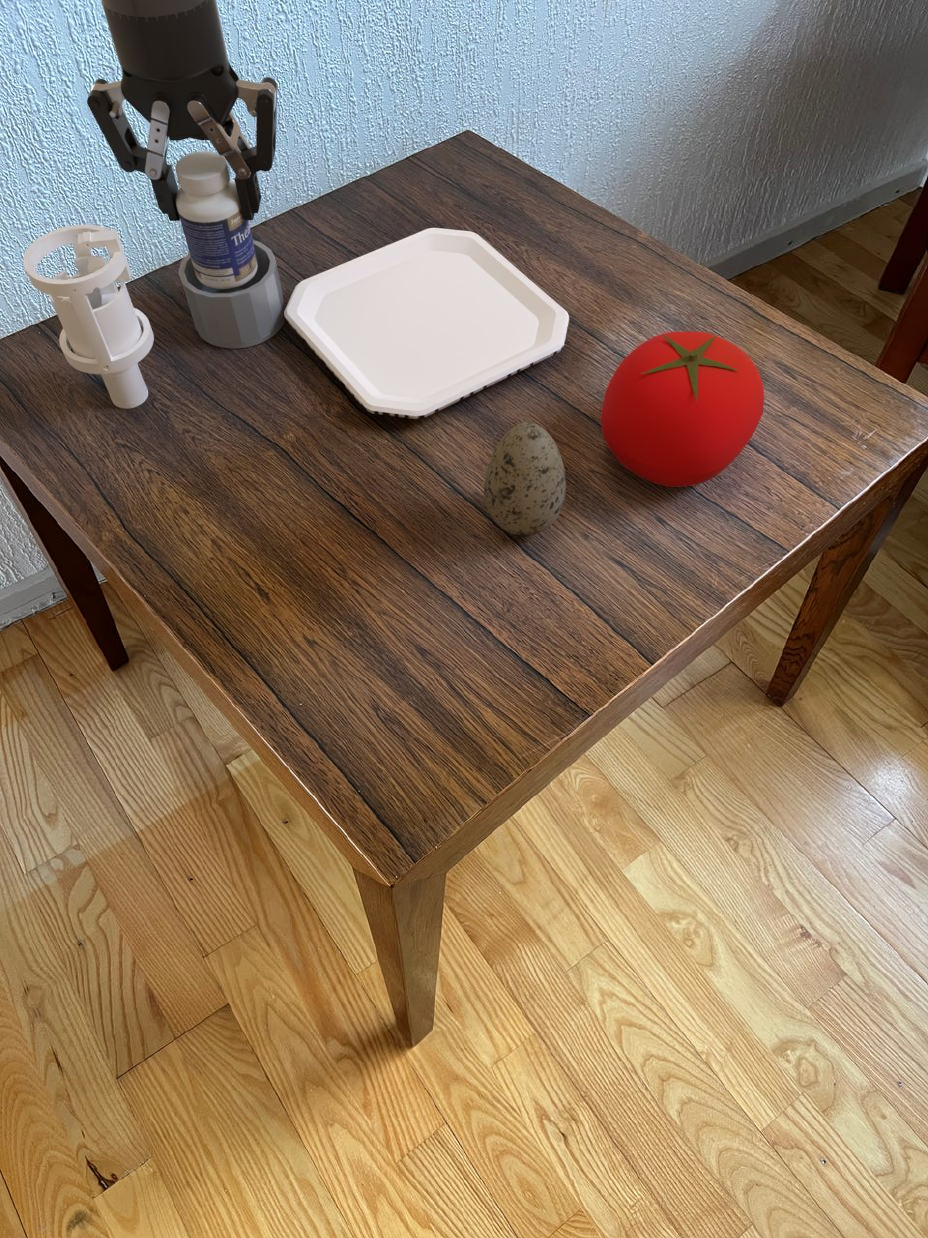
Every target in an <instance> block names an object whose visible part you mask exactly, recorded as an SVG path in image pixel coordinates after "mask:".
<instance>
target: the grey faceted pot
mask: <svg viewBox="0 0 928 1238" xmlns="http://www.w3.org/2000/svg"><path fill="white" fill-rule="evenodd" d="M253 244H254V249H255V254H256V260H257V266H258V267H257V272H256V274H255V275H254V277H253V278H252V279H251V280H249V281H248V282H247V283H245V284H243V285H241V286H239V287H235V288H230V289H216V288H212V287H208V286H206V285H204V284H203V283H201V282H200V281H199V279H198V278H197V276H196V273H195V270H194V267H193V264H192V260H191V256H190V253H189V252H188V253H187V254H186V255H185V256H184V257H183V258H182V259H181V261H180V264H179V267H178V268H179V269H178V276H179V281H180V284H181V287H182V290H183V293H184V296H185V300H186V304H187V307H188V310H189V313H190V316H191V321H192V323H193V326H194V329H195V331H196V333H197V335H198V336H199V337H200V338H201V339H202V340H203V341H205V342H206V343H208V344H209V345H211V346H214V347H218V348H222V349H234V350H236V349H245V348H251V347H254V346H258V345H260V344H262V343H264V342H266V341H269V340H270V339H271V338H273V337H274V336H275V335H276V334H277V333H278V332H279V331H280V330H281V329H282V327H283V325H284V323H285V321H286V319H285V316H284V311H285V309H286V304H285V300H284V294H283V289H282V284H281V279H280V274H279V269H278V265H277V261H276V260H277V259H276V258H275V255H274V253H273V251H272V249H270V248H269V247H268V246H266V245H265V244H263V243H262V242H261V241H258V240H254V239H253Z"/></svg>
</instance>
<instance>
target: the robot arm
mask: <svg viewBox="0 0 928 1238" xmlns="http://www.w3.org/2000/svg"><path fill="white" fill-rule="evenodd" d="M100 2H101V6H102V10H103V12H104V15H105V19H106V23H107V26H108V30H109V32H110V36H111V39H112V43H113V47H114V50H115V54H116V56H117V60H118V63H119V65H120V68H121V80H116V81H111V82H109V81H107V80H106V79H104V78H97V79H95V81H94V83H93V85H92V86H91V89H90V91H89V94H88V96H87V100H86V105H87V106H88V108H89V110H90V112H91V114H92V116H93V118H94V119H95V121H96V123H97V125H98V127H99V129H100V131H101V133H102V134H103V135H102V136H104V138H105V140H106V142H107V145H108V146H109V148H110V150H111V153H112V154H113V155H114V157H115V159H116V162H117V163H118V165H119V167H120V168H121V170H122V171H124V172H127V173H133V172H135V171H137V172H140V173H143V174H144V175H146V177H148V179H149V180H150V183H151V187H152V190H153V193H154V194H153V195H154V197H155V200H156V204H157V207H158V209H159V211H160V212H161V213H162V214H163V215H167V218H168V220H169V221H170V222H180V217H179V214H178V210H177V206H176V195H177V193H178V191H179V186H178V183H177V180H176V179H177V178H176V176H175V172H174V168H173V165H172V164H168V161H167V158H168V151H169V144H170V142H171V141H172V142H173V141H174V142H175V141H176V142H177V141H178V142H179V141H184V140H187V139H194V140H198V141H209V142H210V143H211V145H212V146H213V148H214V149H215V152H216V153H218V154H219V155H220V156H223V157H224V158H225V160H226V162H227V165H228V166H229V167H230V168H231V170H232V171H233V173H234V174H235V177H234V182H235V184H236V189H237V193H238V198H239V202H240V207H241V211H242V216H243V219H244V220H248V221H254V219H255V214H259V210H260V205H261V201H262V194H261V189H260V183H259V179H258V174H257V173H259V172H260V171H261V172H269V171H270V170H272V167H273V163H274V158H275V154H276V149H277V117H278V116H277V115H278V114H277V113H278V84H277V82H276V80H275V79H274V78H272V77H269V76H266V77H264V78H262V79H261V81H260V82H256V81H251V80H246V79H240V77H239V75H238V74H237V72H236V71H235V70H234V68H233V67H232V64H231V63H230V60H229V56H228V50H227V45H226V41H225V36H224V31H223V27H222V21H221V17H220V11H219V7H218V2H217V0H100ZM238 99H240V100H241V101H243V102H244V104H245V106H246V110H247V112H248V114H249V115H250V116H251V117H252V118H256V120H255V123H256V126H255V127H256V128H255V130H256V132H255V133H256V134H255V136H256V137H255V146H252V147H251V146H250V144H249V143H248V141H247V140H246V138H245V136H244V135H243V133H242V130H241V125H240V124H239V122H238V121H237V119H236V117H235V115H234V114H233V112H232V110H233V108H234V106H235V104H236V102H237V100H238ZM125 100H126V101H125ZM126 102H127V103H128V104H130V106H132V107H133V108H134V109H135V110H136V111H137V112H138V114H140V116H141V117H143V118H144V119H145V120H146V121H147V122H148V123H149V131H148V137H147V147H144V146H141V144H140V142H139V140H138V138H137V136H136V134H135V131H134V129H133V128H132V125H131V123H130V122H129V120H128V118H127V116H126V114H125V112H124V111H125V110H126V106H127V105H126Z"/></svg>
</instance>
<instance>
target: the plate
mask: <svg viewBox="0 0 928 1238" xmlns="http://www.w3.org/2000/svg"><path fill="white" fill-rule="evenodd" d="M569 315H570V314H569V313H568V311H567V310H566V309H564V308H563V307H562V306H561V305H560V304H559V303H558V302H556V301H555V300H554V299H553V298H552V297H550V295H548V294H547V293H546V292H545V291H544V290H543V289H541V287H539V286H538V285H537V284H535V282H533V281H532V280H531V279H530V278H529V277H527V275H525V274H524V273H523V272H521V270H520V269H518V268H517V267H516V266H515V265H514V264H513V263H511V262H510V261H509V260H508V259H507V258H506V257H505V256H503V255H502V254H501V253H500V252H499V251H498V250H496V249H495V248H494V247H493V246H492V245H490V243H489V242H487V241H486V240H485V239H484V238H483V237H482V236H480V235H479V234H478V233H476V232H473V231H470V230H460V229H451V228H440V227H430V228H426V229H423V230H421V231H418V232H416V233H414V234H411V235H409V236H406V237H404V238H402V239H399V240H397V241H394V242H392V243H389V244H386V245H385V246H383V247H380V248H378V249H375V250H372V251H371V252H368V253H366V254H363V255H361V256H358V257H355V258H353V259H351V260H349V261H346V262H344V263H341V264H339V265H337V266H335V267H332V268H330V269H327V270H325V271H322V272H319V273H317V274H314V275H312V276H310V277H308V278H305V279H303V280H301V281H300V282H299V283H298V284H296V285H295V287H294V289H293V291H292V293H291V295H290V298H289V300H288V302H287V304H286V306H285V311H284V316H285V321H286V322H287V323H288V324H289V325H290V327H291V328H292V329H293V330H294V331H295V332H296V333H297V335H299V337H300V338H301V339H302V340H303V341H304V343H305V344H306V345H307V346H308V347H309V348H310V349H311V350H312V351H313V352H314V354H315V355H316V356H317V357H318V358H319V360H320V361H321V362H323V364H324V365H325V366H326V367H327V369H329V370H330V371H331V373H332V374H333V375H334V376H335V377H336V378H337V379H338V381H339V382H340V383H341V384H342V385H343V386H344V387H345V389H347V391H348V392H349V393H350V394H351V395H352V397H354V398H355V400H356V401H357V402H358V403H359V404H360V405H361V407H362V408H363V409H364V410H365V411H366V412H369V413H370V414H373V415H381V416H389V417H397V418H404V419H412V420H421V419H425V418H428V417H429V416H433V415H434V414H436V413H438V412H440V411H442V410H444V409H446V408H448V407H450V406H452V405H454V404H456V403H458V402H460V401H462V400H465V399H467V398H468V397H471V396H472V395H475V394H477V393H479V392H481V391H483V390H485V389H487V388H489V387H491V386H493V385H495V384H497V383H499V382H501V381H503V380H505V379H507V378H510V377H511V376H513V375H516V374H518V373H520V372H522V371H524V370H526V369H528V368H530V367H532V366H534V365H537V364H538V363H540V362H543V361H545V360H546V359H549V358H551V357H552V356H555V355H556V354H559V353H560V352H561V351H562V350H563V349H564V347H565V343H566V338H567V334H568V328H569V323H570V316H569Z"/></svg>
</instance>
